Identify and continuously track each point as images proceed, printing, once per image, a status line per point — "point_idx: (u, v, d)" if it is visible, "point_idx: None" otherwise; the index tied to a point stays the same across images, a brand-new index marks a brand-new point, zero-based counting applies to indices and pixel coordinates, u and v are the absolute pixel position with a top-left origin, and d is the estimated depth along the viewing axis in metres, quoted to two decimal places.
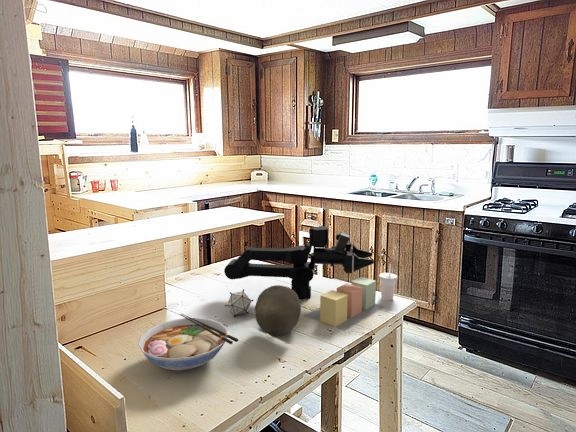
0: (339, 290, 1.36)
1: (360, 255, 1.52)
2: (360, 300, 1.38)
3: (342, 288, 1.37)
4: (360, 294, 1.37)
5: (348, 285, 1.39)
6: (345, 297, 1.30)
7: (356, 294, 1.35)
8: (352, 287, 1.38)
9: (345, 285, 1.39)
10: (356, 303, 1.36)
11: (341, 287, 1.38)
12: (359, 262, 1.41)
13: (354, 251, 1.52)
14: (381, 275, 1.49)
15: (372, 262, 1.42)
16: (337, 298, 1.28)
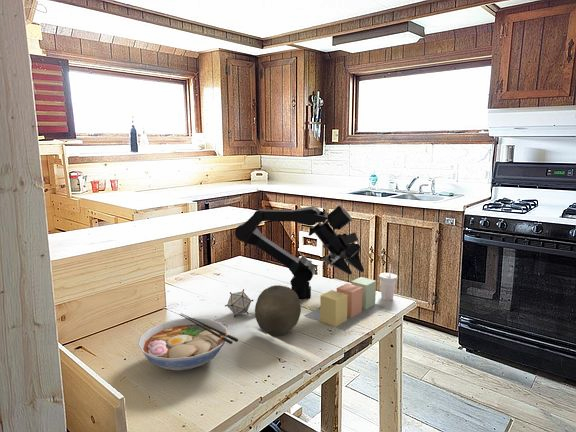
0: (339, 290, 1.36)
1: (342, 266, 1.50)
2: (360, 300, 1.38)
3: (342, 288, 1.37)
4: (360, 294, 1.37)
5: (348, 285, 1.39)
6: (345, 297, 1.30)
7: (356, 294, 1.35)
8: (352, 287, 1.38)
9: (345, 285, 1.39)
10: (356, 303, 1.36)
11: (341, 287, 1.38)
12: (355, 259, 1.41)
13: (340, 259, 1.51)
14: (381, 275, 1.49)
15: (362, 270, 1.42)
16: (337, 298, 1.28)
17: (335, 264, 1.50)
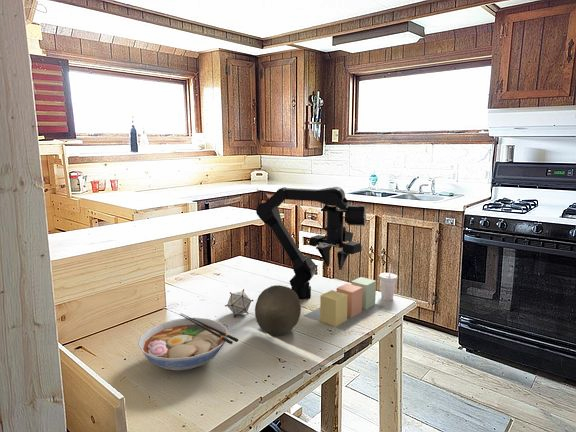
0: (339, 290, 1.36)
1: (326, 255, 1.48)
2: (360, 300, 1.38)
3: (342, 288, 1.37)
4: (360, 294, 1.37)
5: (348, 285, 1.39)
6: (345, 297, 1.30)
7: (356, 294, 1.35)
8: (352, 287, 1.38)
9: (345, 285, 1.39)
10: (356, 303, 1.36)
11: (341, 287, 1.38)
12: (343, 256, 1.43)
13: (328, 248, 1.48)
14: (381, 275, 1.49)
15: (341, 268, 1.45)
16: (337, 298, 1.28)
17: (323, 250, 1.46)
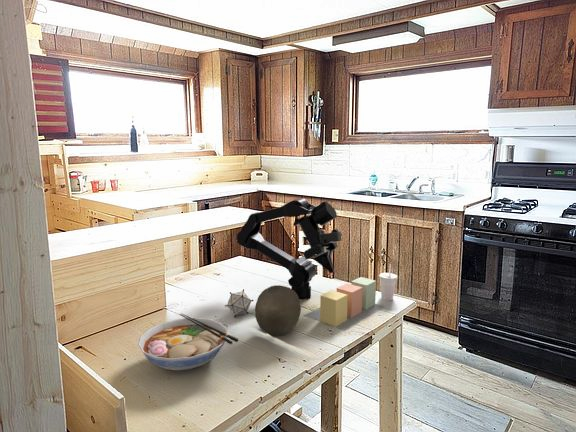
0: (339, 290, 1.36)
1: None
2: (360, 300, 1.38)
3: (342, 288, 1.37)
4: (360, 294, 1.37)
5: (348, 285, 1.39)
6: (345, 297, 1.30)
7: (356, 294, 1.35)
8: (352, 287, 1.38)
9: (345, 285, 1.39)
10: (356, 303, 1.36)
11: (341, 287, 1.38)
12: (324, 260, 1.42)
13: None
14: (381, 275, 1.49)
15: (330, 271, 1.42)
16: (337, 298, 1.28)
17: None
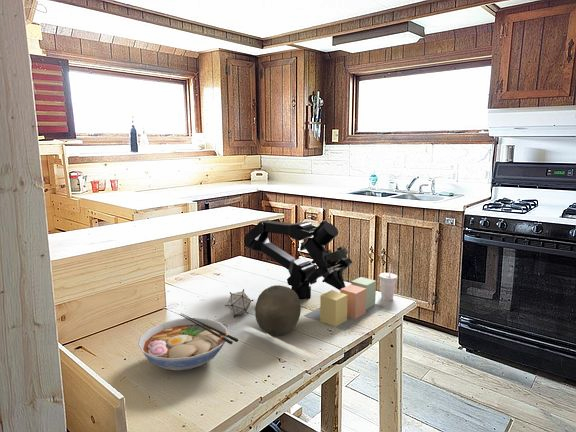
0: (343, 291, 1.35)
1: None
2: (364, 301, 1.36)
3: (346, 289, 1.36)
4: (364, 295, 1.36)
5: (352, 286, 1.38)
6: (345, 297, 1.30)
7: (360, 295, 1.34)
8: (356, 288, 1.37)
9: (349, 286, 1.38)
10: (360, 304, 1.35)
11: (345, 288, 1.36)
12: (333, 280, 1.39)
13: None
14: (381, 275, 1.49)
15: None
16: (337, 298, 1.28)
17: None
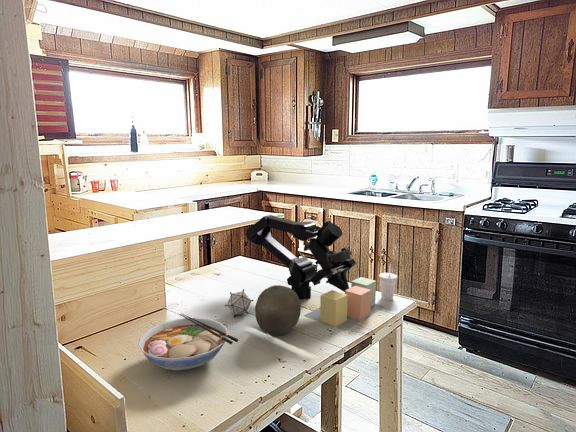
0: (347, 293, 1.34)
1: None
2: (369, 303, 1.35)
3: (350, 290, 1.34)
4: (369, 297, 1.35)
5: (356, 287, 1.37)
6: (345, 297, 1.30)
7: (365, 296, 1.33)
8: (360, 289, 1.35)
9: (354, 287, 1.37)
10: (364, 305, 1.33)
11: (349, 289, 1.35)
12: (337, 281, 1.38)
13: None
14: (381, 275, 1.49)
15: None
16: (337, 298, 1.28)
17: None
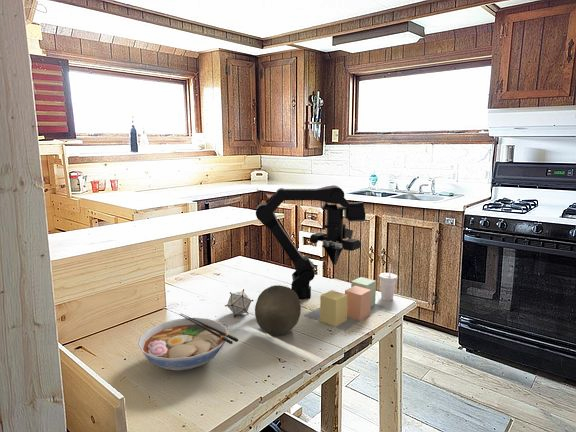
0: (347, 293, 1.34)
1: None
2: (369, 303, 1.35)
3: (350, 290, 1.34)
4: (369, 297, 1.35)
5: (356, 287, 1.37)
6: (345, 297, 1.30)
7: (365, 296, 1.33)
8: (360, 289, 1.35)
9: (354, 287, 1.37)
10: (364, 305, 1.33)
11: (349, 289, 1.35)
12: (337, 252, 1.49)
13: (334, 246, 1.50)
14: (381, 275, 1.49)
15: (335, 263, 1.50)
16: (337, 298, 1.28)
17: (329, 248, 1.48)
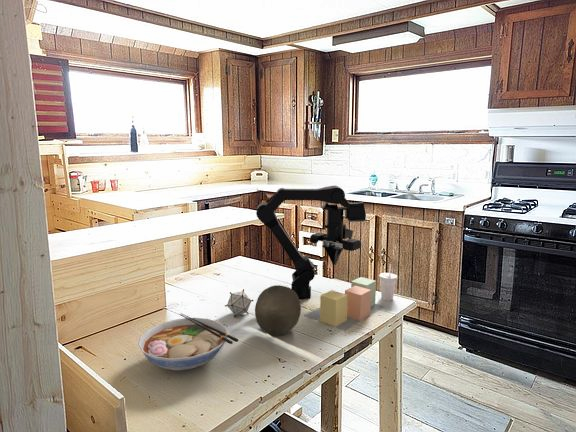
0: (347, 293, 1.34)
1: None
2: (369, 303, 1.35)
3: (350, 290, 1.34)
4: (369, 297, 1.35)
5: (356, 287, 1.37)
6: (345, 297, 1.30)
7: (365, 296, 1.33)
8: (360, 289, 1.35)
9: (354, 287, 1.37)
10: (364, 305, 1.33)
11: (349, 289, 1.35)
12: (337, 252, 1.49)
13: (334, 246, 1.50)
14: (381, 275, 1.49)
15: (335, 263, 1.50)
16: (337, 298, 1.28)
17: (329, 248, 1.48)
